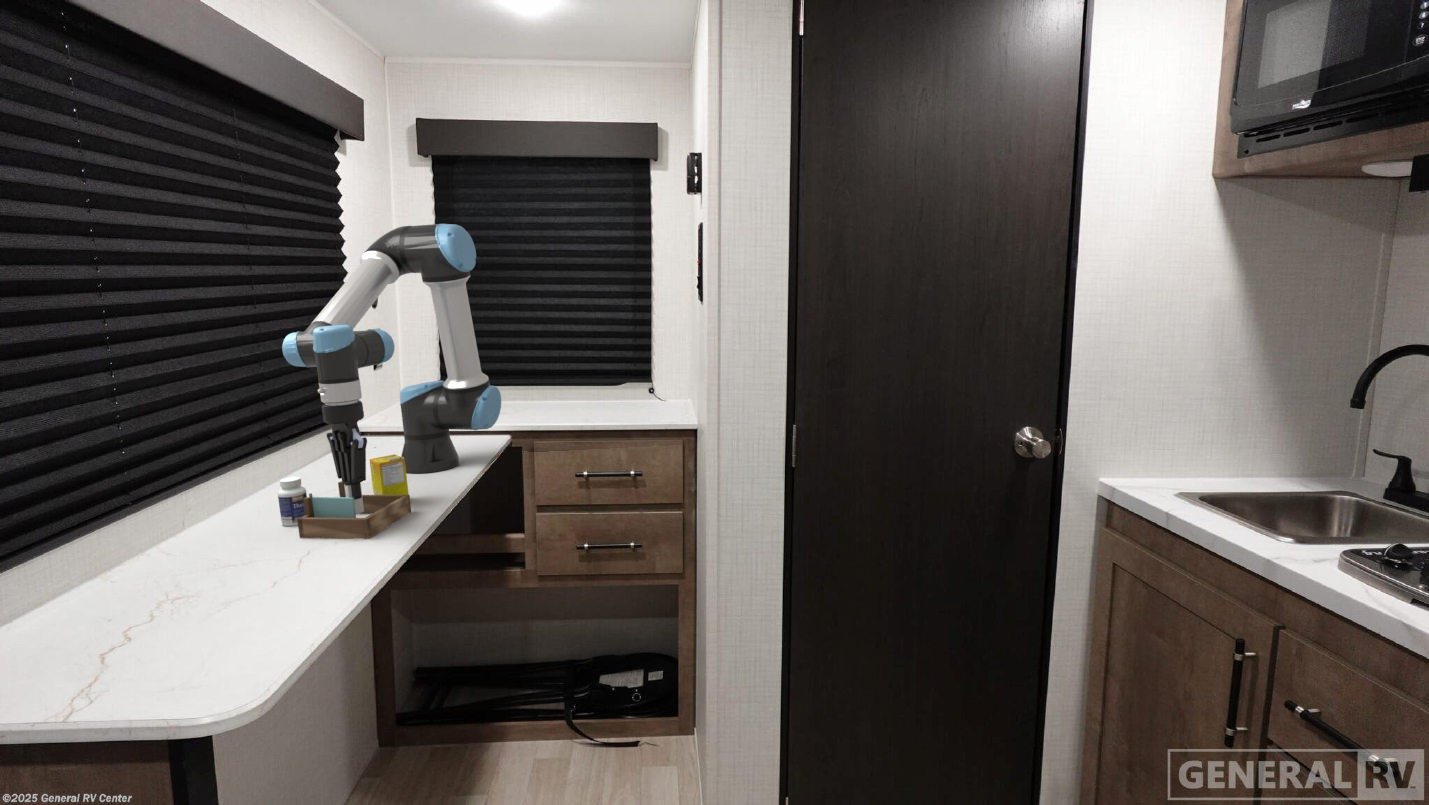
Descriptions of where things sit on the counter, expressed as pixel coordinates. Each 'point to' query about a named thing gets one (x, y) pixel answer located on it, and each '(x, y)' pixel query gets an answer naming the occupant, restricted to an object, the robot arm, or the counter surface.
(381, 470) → the supplement box
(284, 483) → the pill bottle
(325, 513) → the teal rectangular panel
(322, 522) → the wooden square frame
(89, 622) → the counter surface
